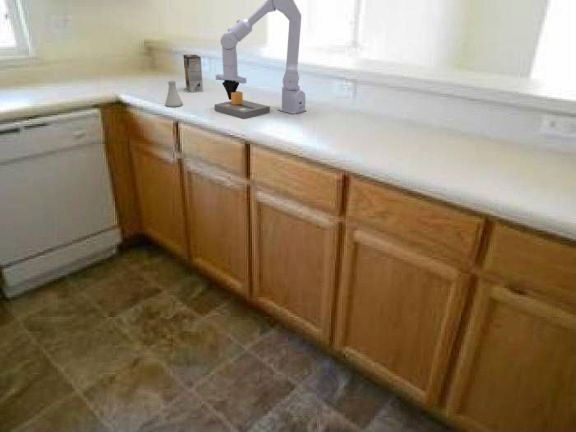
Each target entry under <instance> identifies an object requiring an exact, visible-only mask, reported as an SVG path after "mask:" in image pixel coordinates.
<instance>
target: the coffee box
mask: <svg viewBox="0 0 576 432" xmlns="http://www.w3.org/2000/svg"><path fill="white" fill-rule="evenodd" d="M182 56H183V66H184V75H185V76H184V78H185V79H184V80H185V88H186V90H187V91H189V93H199V92H201V93H202V92H203V91H204V88H203V85H204V84H203V73H202V71H203V69H202V57H201V56H199V55H197V54H183V55H182Z"/></svg>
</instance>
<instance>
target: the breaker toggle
mask: <svg viewBox="0 0 576 432" xmlns="http://www.w3.org/2000/svg"><path fill="white" fill-rule="evenodd" d="M243 100H244V98H243V92H242V91H239V90H236V92H232V93H231V100H230V101H231V104H234V105H237V104H242V103H243Z"/></svg>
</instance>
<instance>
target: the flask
mask: <svg viewBox="0 0 576 432" xmlns="http://www.w3.org/2000/svg"><path fill="white" fill-rule="evenodd" d="M176 83H177V81H176V80H168V81H167V84H168V91H167V94H166V95H167V96H166V100H165V103H164V106H166V107H170V108H177V107H182V106H183V105H184V102H183V101H182V99H181V96H180V94H179V93H178V90H177V86H176Z"/></svg>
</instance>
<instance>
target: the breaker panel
mask: <svg viewBox="0 0 576 432" xmlns="http://www.w3.org/2000/svg"><path fill="white" fill-rule="evenodd" d="M214 111H216V112H218V113H222V114H225V115H230V116H232V117H236V118H239V119H243V120H245V119H249V118H253V117H258V116H262V115H266V114H269V113H271V106H270V105H265V104H261V103H258V102H253V101H250V100H244V99H243V103H242V104H237V105H234V104H231V100H229V101H226V102H220V103H215V104H214Z"/></svg>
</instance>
